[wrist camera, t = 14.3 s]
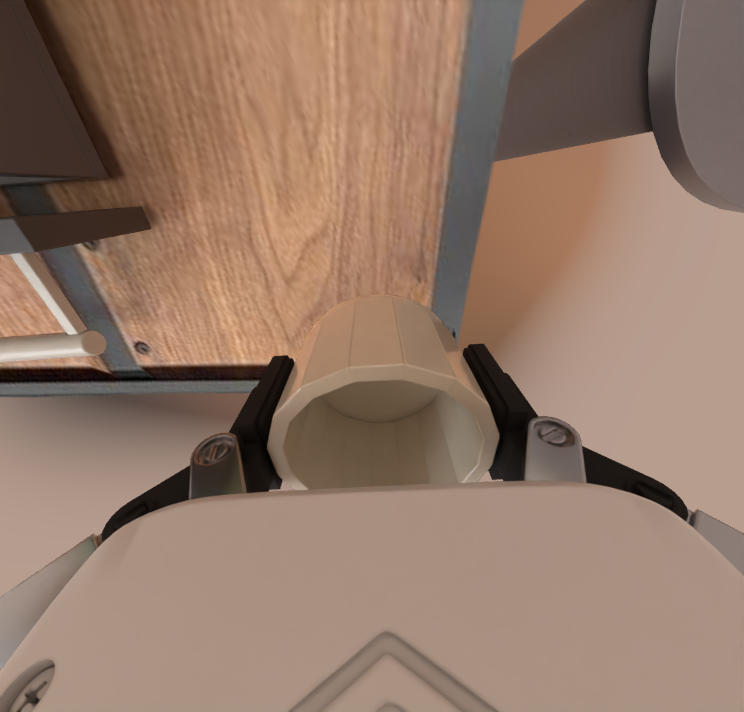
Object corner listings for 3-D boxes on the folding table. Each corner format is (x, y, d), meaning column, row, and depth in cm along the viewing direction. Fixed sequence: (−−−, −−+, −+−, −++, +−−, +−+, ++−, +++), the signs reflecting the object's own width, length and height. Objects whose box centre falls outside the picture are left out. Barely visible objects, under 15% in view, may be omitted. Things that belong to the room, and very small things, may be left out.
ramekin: (462, 287, 11) (522, 357, 7) (448, 416, 15) (479, 513, 10) (286, 299, 11) (234, 373, 7) (317, 423, 15) (296, 520, 11)
